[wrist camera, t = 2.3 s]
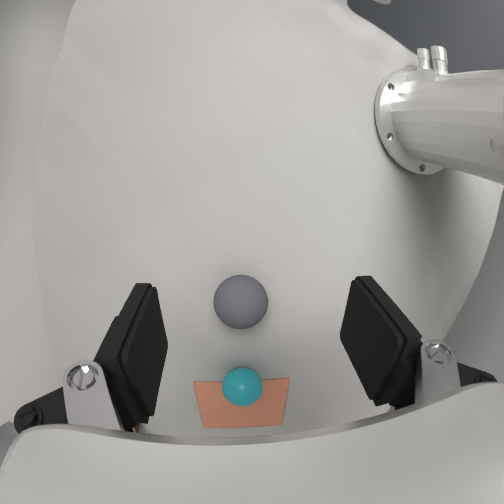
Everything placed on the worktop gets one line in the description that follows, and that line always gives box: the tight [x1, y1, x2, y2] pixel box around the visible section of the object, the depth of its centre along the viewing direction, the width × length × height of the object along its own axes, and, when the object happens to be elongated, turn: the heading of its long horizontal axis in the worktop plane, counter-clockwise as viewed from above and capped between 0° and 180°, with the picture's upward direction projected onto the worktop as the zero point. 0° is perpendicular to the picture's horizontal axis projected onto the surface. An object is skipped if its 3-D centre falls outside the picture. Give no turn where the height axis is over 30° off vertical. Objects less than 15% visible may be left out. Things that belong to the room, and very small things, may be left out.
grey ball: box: [214, 275, 268, 329], centre depth 28 cm, size 6×6×6 cm
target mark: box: [193, 378, 289, 428], centre depth 39 cm, size 14×14×1 cm
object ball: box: [222, 368, 263, 407], centre depth 33 cm, size 6×6×6 cm
